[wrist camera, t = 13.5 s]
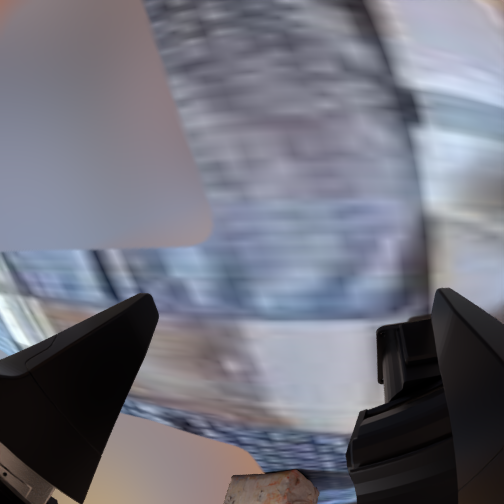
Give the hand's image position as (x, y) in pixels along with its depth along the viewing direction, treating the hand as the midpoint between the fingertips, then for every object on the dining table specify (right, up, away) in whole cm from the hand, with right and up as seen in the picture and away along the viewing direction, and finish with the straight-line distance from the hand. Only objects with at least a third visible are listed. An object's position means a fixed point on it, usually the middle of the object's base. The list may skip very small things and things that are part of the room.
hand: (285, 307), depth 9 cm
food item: (+3, -34, +29) cm, 45 cm away
